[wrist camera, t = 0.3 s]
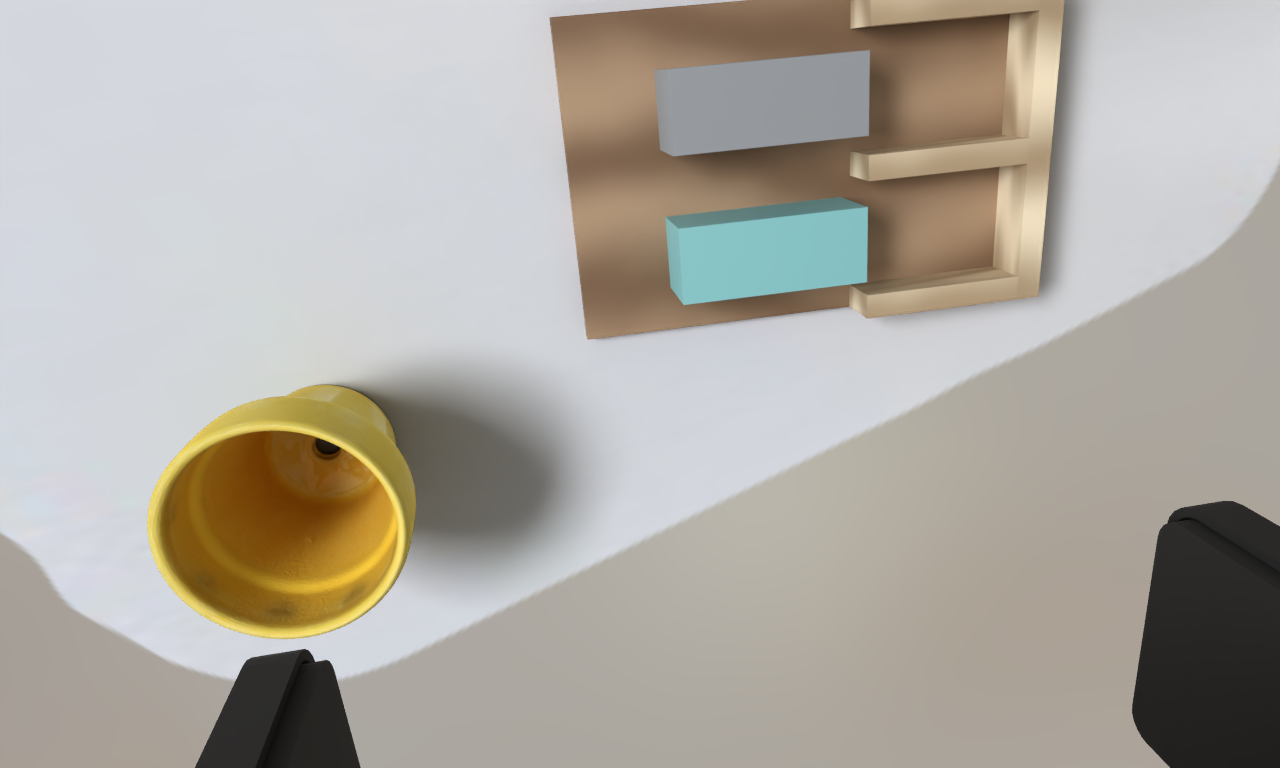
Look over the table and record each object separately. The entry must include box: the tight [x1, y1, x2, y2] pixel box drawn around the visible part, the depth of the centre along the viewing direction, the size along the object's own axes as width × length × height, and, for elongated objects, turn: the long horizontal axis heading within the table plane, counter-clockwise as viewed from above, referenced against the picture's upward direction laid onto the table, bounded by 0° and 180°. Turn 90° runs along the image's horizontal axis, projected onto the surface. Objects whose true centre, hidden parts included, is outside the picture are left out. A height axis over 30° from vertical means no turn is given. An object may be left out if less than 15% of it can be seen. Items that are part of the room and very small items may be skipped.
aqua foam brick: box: [665, 197, 868, 305], centre depth 40 cm, size 4×9×4 cm, turn 95°
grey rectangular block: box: [654, 50, 870, 156], centre depth 38 cm, size 4×9×4 cm, turn 95°
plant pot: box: [147, 385, 416, 639], centre depth 39 cm, size 10×10×10 cm
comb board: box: [550, 0, 1065, 339], centre depth 40 cm, size 15×24×3 cm, turn 95°
